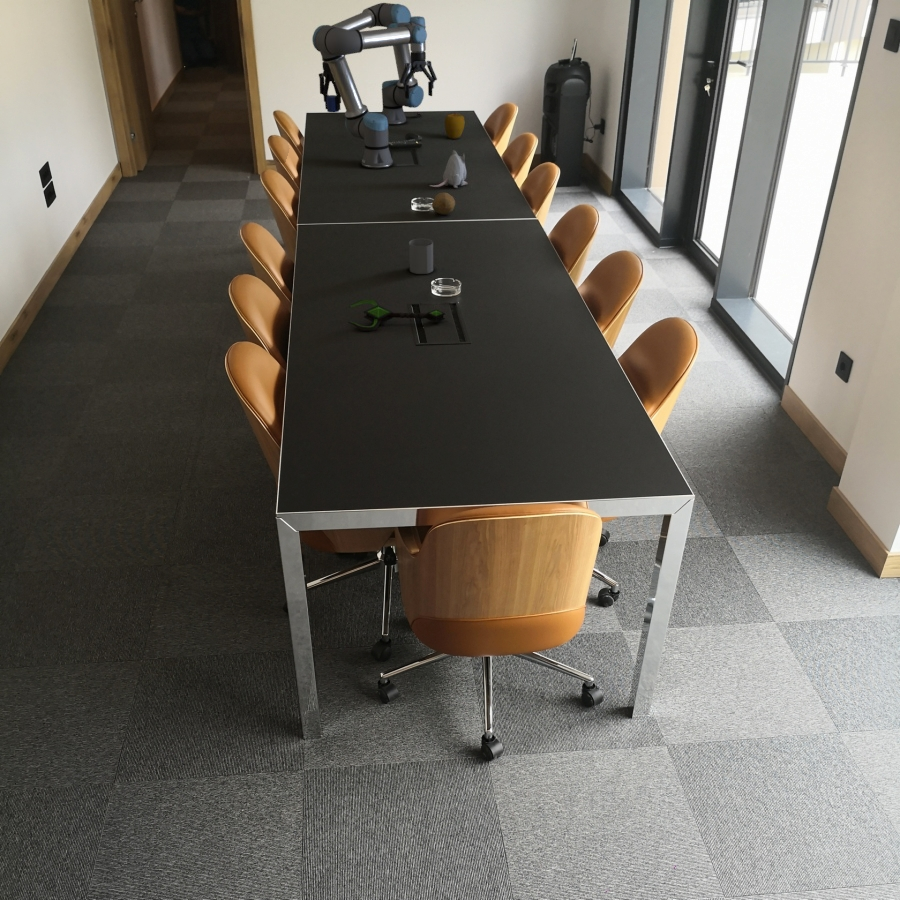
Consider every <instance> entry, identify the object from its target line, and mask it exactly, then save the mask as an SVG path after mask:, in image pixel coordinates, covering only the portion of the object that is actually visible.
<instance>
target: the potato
mask: <svg viewBox="0 0 900 900" xmlns="http://www.w3.org/2000/svg"><path fill="white" fill-rule="evenodd" d="M455 206H456V200H455V198H454V196H452V195H451V194H449V193H448V192H439V193H437V194H436V195H435V197H434V198H433V200H432V201H431V207H432V209H433V210H434V212H436V213H437V214H439V215H441V216H442V215H449V214H450V213H452V212H453V211H454V209H455Z"/></svg>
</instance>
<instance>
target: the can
mask: <svg viewBox="0 0 900 900" xmlns="http://www.w3.org/2000/svg"><path fill="white" fill-rule="evenodd" d="M328 95H329V94H328ZM336 96H337V95H336V94H330V95H329V96H326V100H327V109H326V110H327V113H338V112H340V110H338V111H337V110H336V98H335V97H336Z"/></svg>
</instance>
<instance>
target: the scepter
mask: <svg viewBox="0 0 900 900" xmlns="http://www.w3.org/2000/svg"><path fill="white" fill-rule="evenodd" d="M362 304H371V305H373V306H372V307H371V308H367V309H366V310H364V311H363V313H364V314H365V315H364V316H363V318H364V319H366V320H368V321H369V322H372V323H373V324H372V325H369V326H367V325H360V324H358V323H356V322H353V321H350V320H349V321H348V324H350V325H351V326H353V327H354V328H356V329H359V330H361V331H375V330H377V329H378V327H379V326H380V325H382V324H383V323H385V322H388V321H389V320H390V321H391V319H394V318H396V319H397V318H398V319H399V318H400V319H426V320H428V321H431V322H433V323H434V324H436V323H439V322H441V321H444V320H445V319H446V318H445V317H444V315H446V313H445V312H443V311H441V310H438V309H434V310H433V309H432V310H431V311H429V312H426V313H425V312H420V313H419V312H393V311H392V310H390V309H388V308H385V307H384V306H382V305H380V304H379V302H378V301H377V300H376V299H369V298H368V299H360V300H358V301H355V303H352V304H351V305H349V306H348V307H349V308H353V307H356V306H359V305H362Z"/></svg>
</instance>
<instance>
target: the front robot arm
mask: <svg viewBox="0 0 900 900" xmlns="http://www.w3.org/2000/svg"><path fill="white" fill-rule="evenodd" d="M426 28H427V26H426V19H425V17H424V16H420V15H419V16H418V15H417V16H415V15H414V16H411V17H410V21H409V22H405V23H393V24H390V25H389V27H388V29H387V28H381V29H380V28H379V29H371V30H360V31H359V30H347V29H342V28H338V27H333V26H332V25H330V24H322V25H319V26H318V27H316V28H315V30H314V31H313V35H312V39H311V41H312V45H313V47H314V49H315V50H316V51H317V52H319V53H320V55H321V59H322V58H323V61H322V62H327V63H328V64H329V67H330V70H331V72H332V75H333V77H334V80H335V82H336V85H337V88H338V90H339V93H340V95H341V101H342V103H343V105H344V109H345V112H344V117H345V120H344V126H345V129H346V130H347V132H348V133H349V134H350V135H352V136H353V137H356V138H358V139H361V140H364V151H363V155H362V159H361V166H362V167H363V168H366V169H371V170H381V169H387V168H390V167H392V166H394V161H393V158H392V151H391V150H390V147H389V145H390V144H389V125H388V121H387V118H386V116H384V115H382V113H377V112H370V111H369V109H368V106H367V105H366V104H364V103H363V101H362V98H361V96H360V93H359V89H358V87H357V85H356V83H355V80H354V77H353V74H352V72H351V69H350V66H349V64H348V61H347V58H346V56H347V55H348V56H349V55H352V54H360V53H361V52H363V50H364V51H365V50H371V49H378V48H379V49H380V48H385V47H386V48H387V47H393V46H395V45H403V44H409V50H410V56H411V63H405V69H404V71H403V74H402V77H401V80H400V83H402V84H403V85H404V91H405V98H407V99H409V85H407V84H408V82H409V81H410V79H411V77H412V76H413V74H415V73H420V72H421V73H423V74H424V76H425V77H426V78H427V79H428V82H427V91H428V92H427V93H428V96H429V97H433V89H434V88H435V87H434V83H435V82H436V81H437V80H438V78H437V75H436V73H435V70H434V68H433V65H432V61H431V60H427V58H426V57H427V55H426V49H427V46H426V45H427V44H426V41H427V37H428V33H427V30H426ZM410 66H411V67H412V68H411V69H410V72H409V74H408V71H409V68H410ZM426 67H427V68H426ZM407 74H408V75H407Z"/></svg>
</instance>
